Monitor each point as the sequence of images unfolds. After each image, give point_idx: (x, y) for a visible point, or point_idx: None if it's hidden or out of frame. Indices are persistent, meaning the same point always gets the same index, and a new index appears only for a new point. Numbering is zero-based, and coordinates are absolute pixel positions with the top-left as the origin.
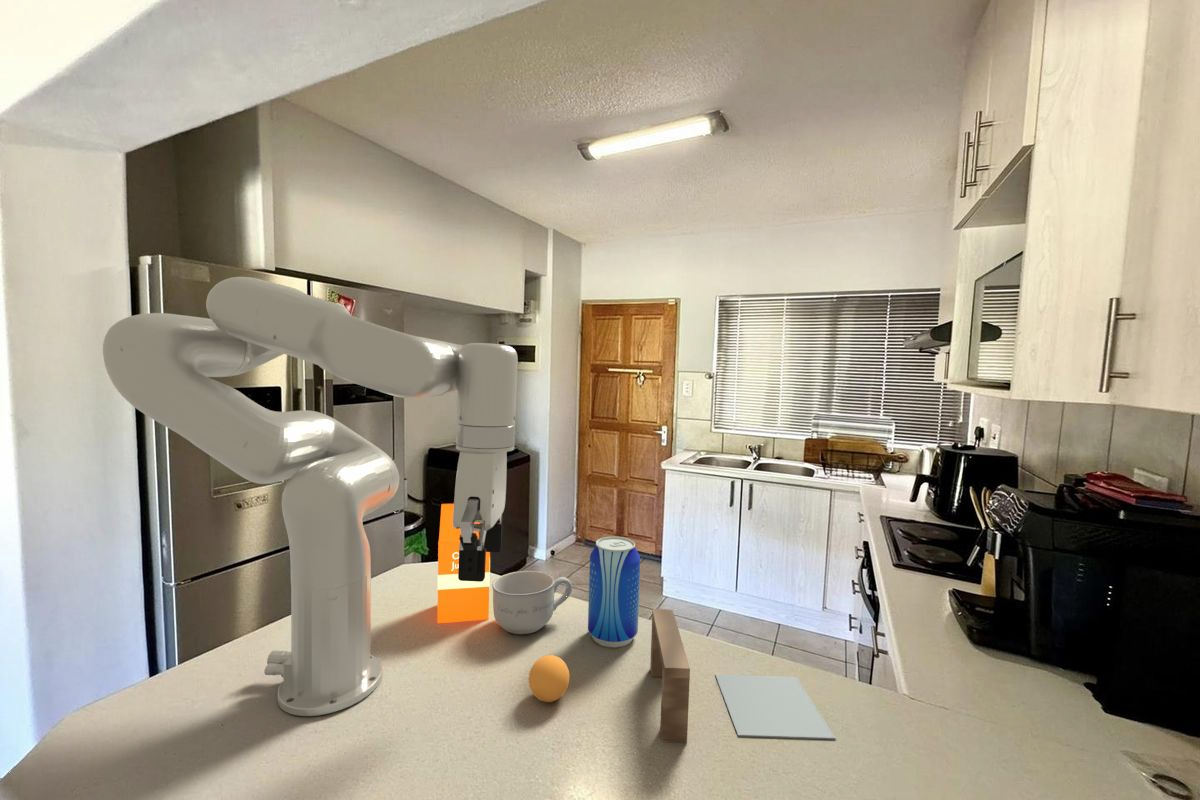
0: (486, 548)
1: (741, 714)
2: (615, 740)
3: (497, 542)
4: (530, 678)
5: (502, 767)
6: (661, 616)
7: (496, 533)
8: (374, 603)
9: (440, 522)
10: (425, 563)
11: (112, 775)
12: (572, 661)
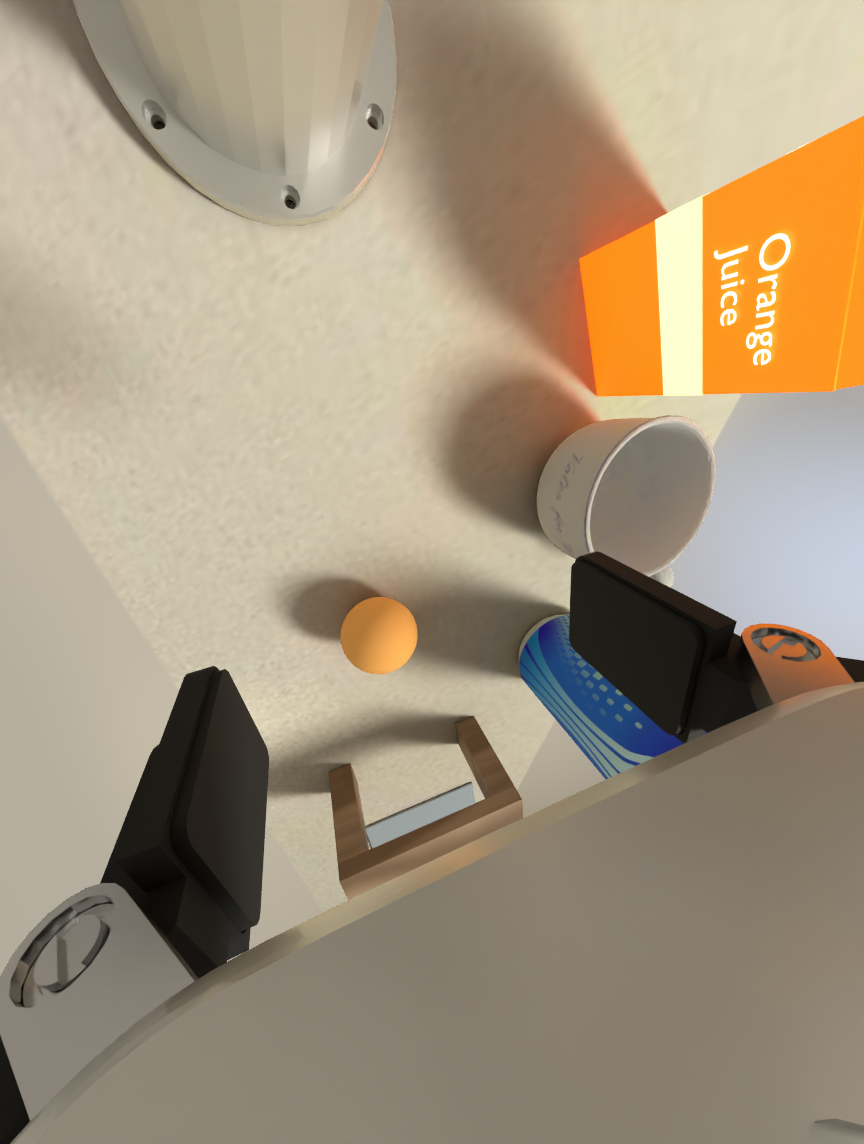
0: (581, 600)
1: (401, 823)
2: (311, 728)
3: (600, 666)
4: (356, 617)
5: (190, 619)
6: (497, 819)
7: (640, 691)
8: None
9: None
10: None
11: None
12: (474, 613)
